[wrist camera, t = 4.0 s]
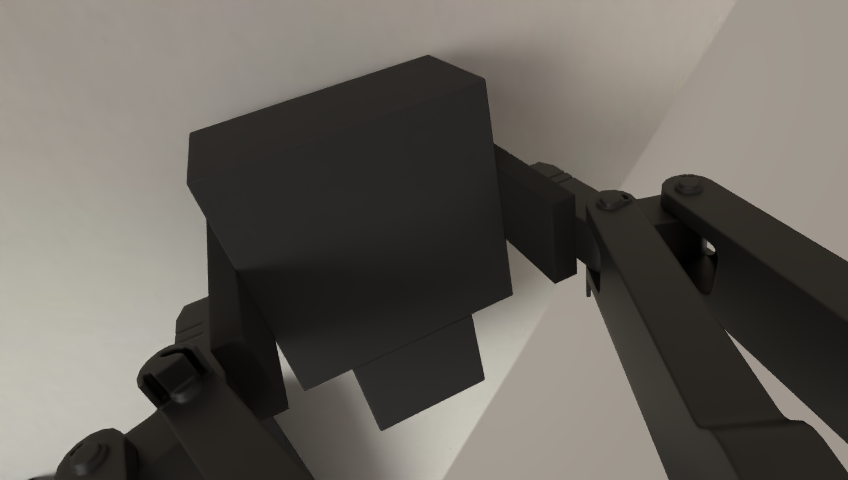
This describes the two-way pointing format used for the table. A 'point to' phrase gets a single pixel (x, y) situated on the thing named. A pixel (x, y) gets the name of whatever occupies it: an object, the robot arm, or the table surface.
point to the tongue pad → (366, 228)
